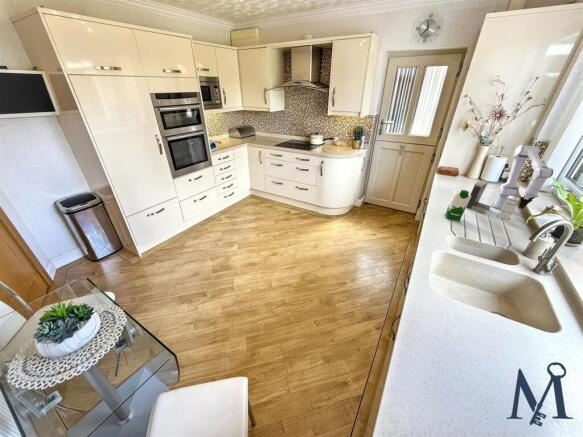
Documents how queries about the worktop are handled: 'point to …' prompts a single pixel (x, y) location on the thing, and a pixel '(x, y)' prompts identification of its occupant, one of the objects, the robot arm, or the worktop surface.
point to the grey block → (477, 197)
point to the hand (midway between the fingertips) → (522, 206)
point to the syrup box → (508, 207)
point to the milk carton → (458, 205)
